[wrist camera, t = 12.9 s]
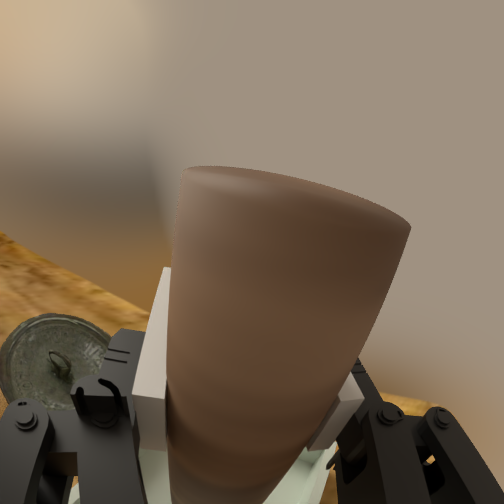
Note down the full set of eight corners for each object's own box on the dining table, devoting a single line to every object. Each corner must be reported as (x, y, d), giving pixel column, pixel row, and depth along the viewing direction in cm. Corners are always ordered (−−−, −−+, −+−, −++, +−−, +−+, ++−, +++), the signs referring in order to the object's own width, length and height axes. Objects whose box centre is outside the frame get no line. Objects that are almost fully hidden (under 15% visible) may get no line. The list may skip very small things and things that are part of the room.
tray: (248, 618, 5) (263, 624, 4) (67, 522, 8) (49, 509, 7) (319, 463, 16) (337, 442, 15) (180, 404, 19) (182, 378, 18)
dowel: (235, 545, 8) (434, 260, 3) (154, 506, 10) (127, 172, 4) (268, 484, 12) (398, 208, 7) (196, 452, 14) (242, 164, 8)
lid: (100, 336, 24) (95, 290, 22) (157, 413, 18) (156, 368, 16) (-1, 364, 16) (-18, 317, 14) (31, 463, 10) (0, 422, 9)
